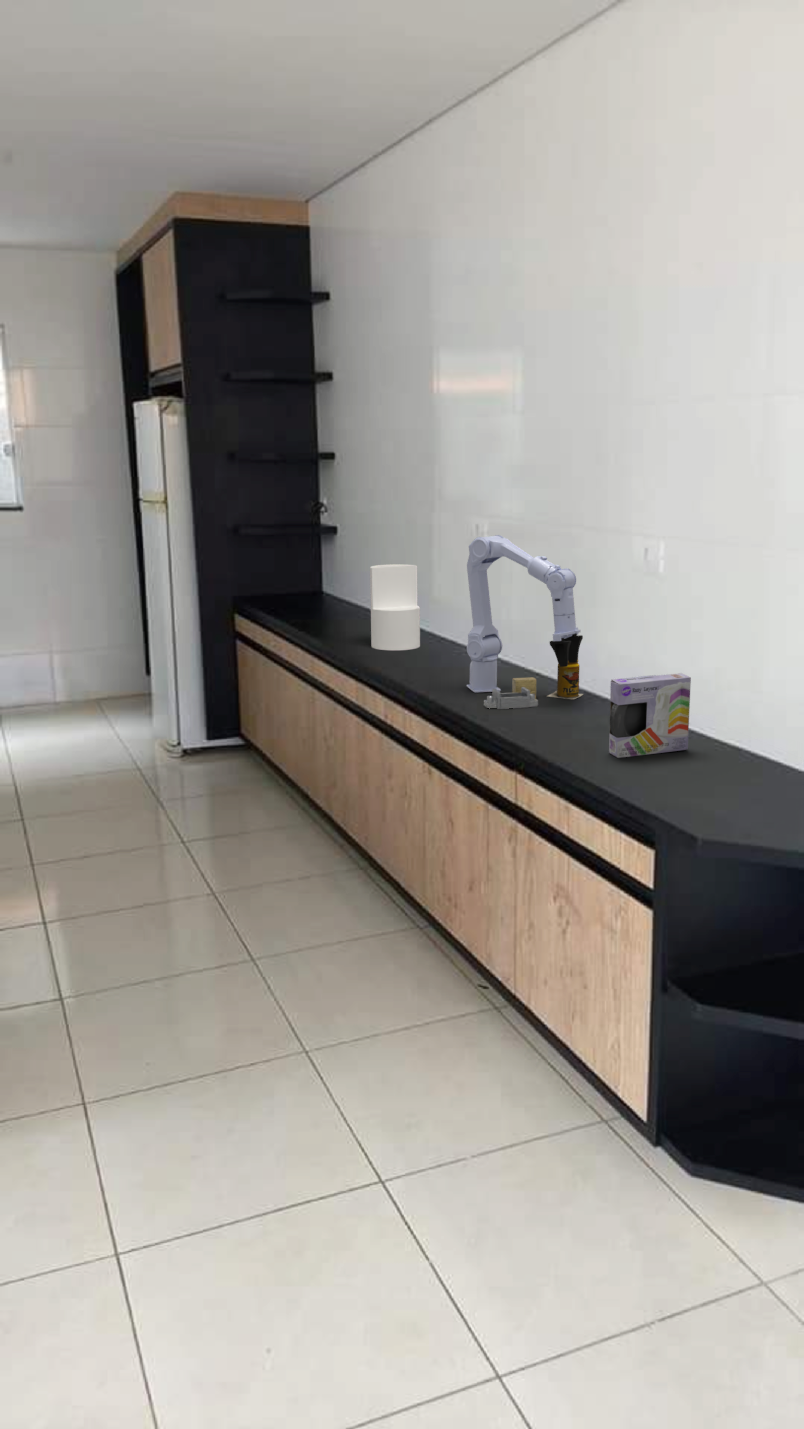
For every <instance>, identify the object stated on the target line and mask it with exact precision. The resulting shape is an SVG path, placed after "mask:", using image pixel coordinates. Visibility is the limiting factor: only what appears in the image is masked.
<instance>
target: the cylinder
mask: <svg viewBox="0 0 804 1429" xmlns="http://www.w3.org/2000/svg"><path fill="white" fill-rule="evenodd" d="M369 571H370V574H369V576H370V578H369V580H370V584H369V585H370V587H369V588H370V630H371V631H370V635H371V636H370V640H371V644H370V645H371V646H370V647H371V648H372V649H375V650H382V651H408V650H415V649H418V648H420V647H421V618H420V616H421V607H420V606H419V605H418V565H416V564H402V563H400V564H399V563H398V564H397V563H396V564H393V563H391V564H378V565H376V564H375V565H371V566H370V567H369Z"/></svg>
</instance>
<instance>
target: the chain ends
mask: <svg viewBox="0 0 804 1429" xmlns="http://www.w3.org/2000/svg"><path fill="white" fill-rule="evenodd" d="M491 694H492V695H487V696H486V699H484V700H483V706H484V707H485V708H486V709H487V708H489V709H488V710H491V709H490V708H497V709H496V710H508V709H509V708H513V709H527V708H530V707H538V706H539V700H538V699H537V698H536V699H535V694H533V693H530V691H529V690H528V689H527V688H525V687H521V692H515V693H512V692H501V691H498V690H497V689H492V693H491ZM509 710H510V709H509Z"/></svg>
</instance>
